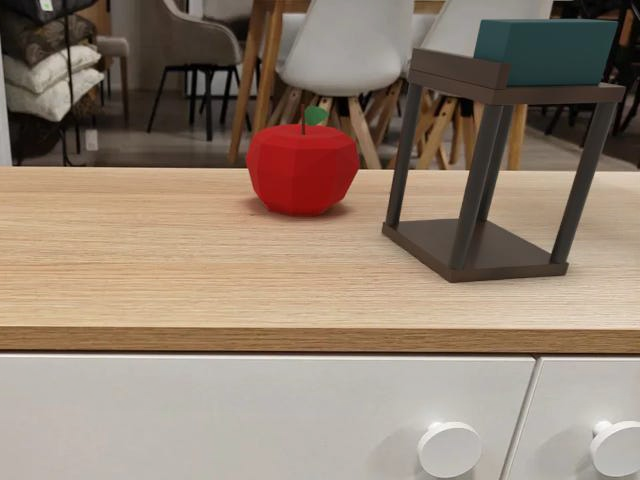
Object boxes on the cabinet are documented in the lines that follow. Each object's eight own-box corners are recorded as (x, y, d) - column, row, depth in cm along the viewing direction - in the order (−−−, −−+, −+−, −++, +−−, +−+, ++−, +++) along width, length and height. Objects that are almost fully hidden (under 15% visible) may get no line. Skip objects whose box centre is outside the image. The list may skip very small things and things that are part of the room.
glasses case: (565, 78, 51) (582, 18, 49) (600, 84, 47) (619, 21, 46) (467, 80, 49) (480, 19, 47) (496, 87, 46) (511, 22, 44)
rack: (479, 227, 64) (524, 46, 56) (566, 274, 54) (634, 61, 46) (380, 232, 62) (412, 47, 55) (449, 282, 52) (501, 63, 44)
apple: (225, 199, 71) (230, 99, 66) (306, 187, 76) (317, 93, 71) (284, 228, 63) (295, 117, 58) (371, 213, 67) (389, 108, 62)
